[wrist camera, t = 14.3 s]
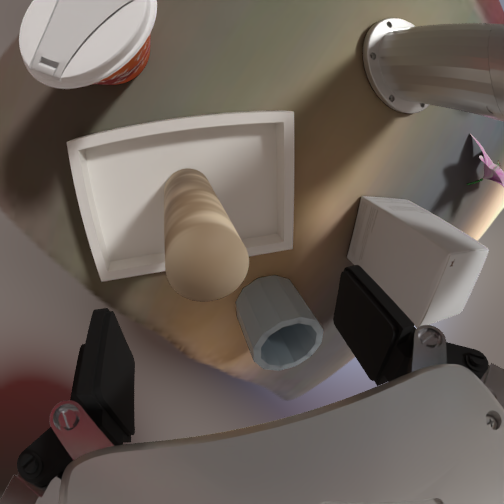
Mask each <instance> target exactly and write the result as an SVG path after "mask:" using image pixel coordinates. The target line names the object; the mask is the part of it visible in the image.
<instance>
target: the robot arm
mask: <svg viewBox="0 0 504 504" xmlns="http://www.w3.org/2000/svg"><path fill="white" fill-rule="evenodd" d="M363 61H364V68H365V71H366V74H367V77H368V80H369V82H370V84H371V86H372V88H373V89H374V91H375V93H376V94H377V95H378V97H379V98H380V99H381V100H382V101H383V102H384V103H385V104H386V105H388V106H389V107H390V108H392V109H394V110H396V111H399V112H403V113H410V114H411V113H418V112H420V111H423V110H424V109H425V108H427V107H428V106H429V104H430V105H435V106H441V107H446V108H451V109H456V110H461V111H465V112H470V113H474V114H478V115H482V116H486V117H490V118H493V119H497V120H500V121H504V24H486V23H462V24H440V25H427V26H417V27H415V26H414V25H413V24H411V23H410V22H408V21H406V20H403V19H399V18H387V19H383V20H380V21H378V22H376V23H375V24H374V25H373V26H371V28H370V29H369V31H368V32H367V35H366V37H365V40H364V45H363ZM333 320H334V324H335V326H336V328H337V329H338V331H339V332H340V334H341V335H342V337H343V339H344V340H345V342H346V343H347V345H348V346H349V348H350V349H351V351H352V352H353V354H354V355H355V357H356V358H357V360H358V361H359V363H360V364H361V366H362V368H363V369H364V370H365V372H366V374H367V375H368V377H369V378H370V379H371V380H372V381H373V380H374V381H375V382H376V384H377V387H375V388H372V389H370V390H367V391H365V392H362V393H360V394H357V395H354V396H352V397H349V398H346V399H344V400H341V401H338V402H335V403H332V404H329V405H326V406H323V407H320V408H317V409H314V410H311V411H308V412H304V413H301V414H297V415H294V416H291V417H287V418H283V419H279V420H276V421H272V422H267V423H264V424H259V425H255V426H250V427H246V428H241V429H236V430H231V431H227V432H221V433H215V434H209V435H203V436H196V437H189V438H181V439H173V440H165V441H155V442H144V443H135V444H125V445H123V442H131V435H134V433H135V427H134V372H135V369H134V368H135V362H134V358H133V355H132V353H131V351H130V349H129V346H128V344H127V342H126V340H125V338H124V335H123V333H122V331H121V328H120V326H119V324H118V321H117V319H116V317H115V314H114V312H113V311H109V310H108V308H105V309H98V310H94V311H93V314H92V318H91V322H90V326H89V330H88V334H87V339H86V343H85V344H83V345H82V346H81V348H80V351H79V356H78V360H77V366H76V371H75V376H74V381H73V387H72V393H71V399H70V400H65V401H62V402H60V403H58V404H57V405H56V406H55V407H54V408H53V409H52V411H51V413H50V418H49V419H50V425H51V427H50V428H49V429H48V430H47V431H46V432H45V433H43V434H42V435H41V436H40V437H39V438H38V439H37V440H35V441H34V442H33V443H32V444H31V445H30V446H29V447H27V448H26V449H25V450H24V451H23V452H22V453H21V454H20V456H19V458H18V462H17V468H18V472H19V473H18V475H17V476H16V475H14V476H13V477H12V479H11V481H10V483H9V485H8V486H7V488H6V490H5V492H4V494H3V496H2V497H1V499H0V504H504V369H502V368H500V367H498V366H496V365H494V364H492V363H491V365H488V361H487V359H486V357H485V356H484V355H483V353H481V352H480V351H477V350H475V349H470V348H467V347H463V346H459V345H455V344H451V343H447V342H446V339H445V336H444V334H443V333H442V332H441V331H440V330H439V329H438V328H436V327H434V326H430V325H423V326H420V327H418V328H417V329H416V328H415V327H414V323H413V322H412V321H411V320H410V319H409V318H408V316H407V315H406V314H405V313H404V312H403V311H402V310H401V309H400V308H399V307H398V305H397V304H396V303H395V302H394V301H393V300H392V299H391V298H390V297H389V296H388V295H387V294H386V293H385V291H384V290H383V289H382V288H381V287H380V286H379V285H378V284H377V283H376V282H375V281H374V280H373V279H372V278H371V277H370V276H369V275H368V274H367V273H366V272H365V271H364V270H363V269H362V268H361V266H359V265H355V266H350V267H346V268H345V269H344V271H343V272H342V273H341V278H340V284H339V290H338V296H337V302H336V307H335V313H334V319H333ZM386 382H387V383H386ZM383 383H385V384H383ZM381 384H382V385H381ZM378 385H380V386H378Z"/></svg>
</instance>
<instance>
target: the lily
mask: <svg viewBox="0 0 504 504" xmlns="http://www.w3.org/2000/svg"><path fill="white" fill-rule="evenodd" d="M470 135H471V134H470ZM471 136H472V135H471ZM472 137H473V136H472ZM473 138H474V137H473ZM474 140H475V141H476V142H477V144H478V145H479V146H480V148H481V150H482V152H483V154H484V159H483V156H479V158H480V159H481V160H482V161H483V162H484V177H483V178H482V179H480V180H478V181H475V182H471V183H468V184H467V185H471V184H474V183H477V182H480V181H482V180H484V179H489V180H493V181H495V182H497V183H499V184H501V185H502V186H503V187H504V172H503V171H502V169H501V168H500V167H499V166H498V165H499V164H500V163H499V164H498V163H497V164H498V165H496V164H493V162H492V161H491V159H490V158H489V156H488V155H487V154H486V152H485V151H484V149H483V147H482V146H481V144H480V143H479V142H478V141H477V140H476V139H475V138H474ZM498 162H499V160H498ZM500 166H501V165H500Z"/></svg>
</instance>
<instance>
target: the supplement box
mask: <svg viewBox="0 0 504 504" xmlns="http://www.w3.org/2000/svg"><path fill="white" fill-rule="evenodd" d="M488 252H489V249H488V248H487V247H485V246H484V245H482V244H481V243H480V242H478V241H477V240H475V239H474V238H472V237H470V236H469V235H467V234H466V233H464V232H462V231H461V230H459V229H458V228H456V227H454V226H453V225H451V224H449V223H448V222H446V221H444V220H443V219H441V218H439V217H437V216H436V215H434V214H432V213H430V212H429V211H427V210H425V209H423V208H422V207H420V206H418V205H416V204H414V203H412V202H411V201H409V200H405V199H394V198H383V197H370V196H362V197H361V201H360V205H359V210H358V214H357V219H356V223H355V227H354V231H353V235H352V239H351V243H350V247H349V251H348V255H347V259H349V260H350V261H351V262H352V263H353V264H354V265H359V266H361V268H362V269H363V270H364V271H365V272H366V273H367V274H368V275H369V276H370V277H371V278H372V279H373V280H374V281H375V282H376V283H377V284H378V285H379V286H380V287H381V288H382V289H383V290H384V291H385V293H386V294H387V295H388V296H389V297H390V298H391V299H392V300H393V301H394V302H395V303H396V304H397V305H398V307H399V308H400V309H401V310H402V311H403V312H404V313H405V314H406V315H407V316H408V318H409V319H410V320H411V321H412V322H413V323H414V325H415V326H416V327H417V328H418V327H420V326H423V325H430V324H432V323H435V322H438V321H441V320H443V319H446V318H449V317H451V316H454V315H457V314H459V313H461V312H462V310H463V308H464V306H465V304H466V302H467V300H468V298H469V296H470V294H471V292H472V289H473V287H474V285H475V283H476V280H477V278H478V276H479V274H480V272H481V269H482V267H483V265H484V262H485V260H486V257H487V254H488Z"/></svg>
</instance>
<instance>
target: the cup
mask: <svg viewBox="0 0 504 504" xmlns="http://www.w3.org/2000/svg"><path fill="white" fill-rule="evenodd" d="M235 303H236V312H237V318H238V320H239V323H240V326H241V328H242V331H243V334H244V337H245V339H246V342H247V345H248V347H249V350H250V353H251V355H252V358H253V360H254V362H256V363H257V364H258V365H259V366H261V367H262V368H263V369H269V370H278V371H280V370H283V369H286V368H290V367H294V366H297V365H298V364H300V363H301V362H303V361H304V360H306V359H307V358H309V357H310V356H312V354H313V353H314V352H315V351H316V349H317V348H318V347H319V345H320V344H321V343H322V336H323V331H324V329H323V328H322V326H321V325H320V324H319V322H318V321H317V319H316V318H315V316H314V315H313V313H312V312H311V310H310V309H309V307H308V306H307V304H306V303H305V301H304V300H303V298H302V297H301V295H300V294H299V292H298V291H297V290H296V288H295V287H294V286H293V284H292V283H291V281H290V280H289V279H286V278H283V277H280V276H277V275H272V276H267V277H262V278H257V279H256V280H255V281H253V282H252V283H250V284H249V285H247V286H246V287H245V288H243V290H242V292H241V293H240V295H239V297H238V299H237V301H236V302H235Z"/></svg>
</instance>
